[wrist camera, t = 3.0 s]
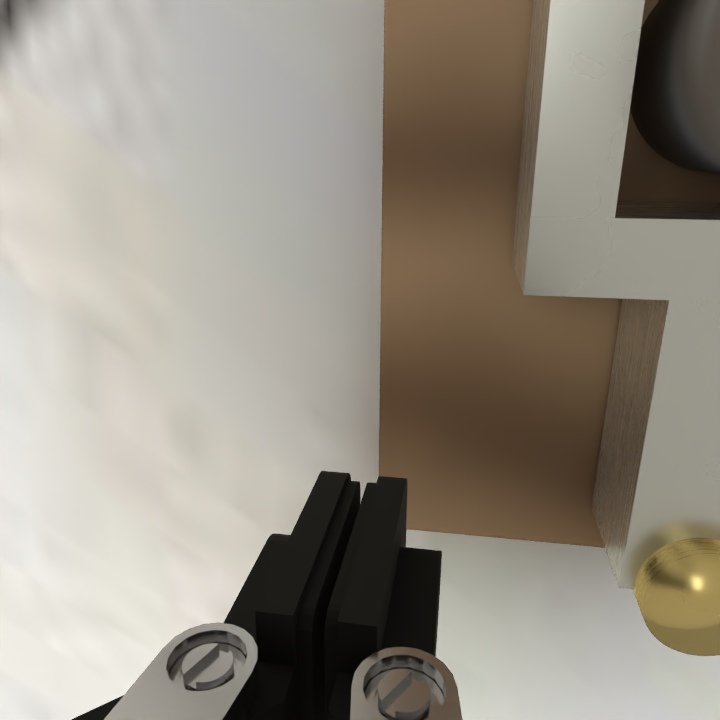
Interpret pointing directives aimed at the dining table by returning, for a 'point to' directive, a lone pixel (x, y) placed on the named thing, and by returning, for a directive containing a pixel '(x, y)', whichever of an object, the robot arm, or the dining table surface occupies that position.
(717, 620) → the square frame with handle
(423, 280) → the board
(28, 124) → the dining table surface
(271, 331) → the dining table surface
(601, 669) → the dining table surface
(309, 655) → the robot arm
